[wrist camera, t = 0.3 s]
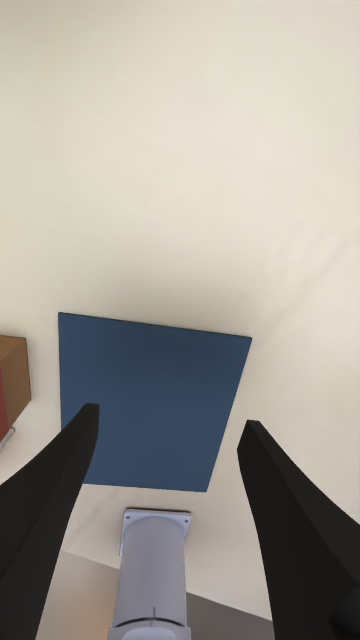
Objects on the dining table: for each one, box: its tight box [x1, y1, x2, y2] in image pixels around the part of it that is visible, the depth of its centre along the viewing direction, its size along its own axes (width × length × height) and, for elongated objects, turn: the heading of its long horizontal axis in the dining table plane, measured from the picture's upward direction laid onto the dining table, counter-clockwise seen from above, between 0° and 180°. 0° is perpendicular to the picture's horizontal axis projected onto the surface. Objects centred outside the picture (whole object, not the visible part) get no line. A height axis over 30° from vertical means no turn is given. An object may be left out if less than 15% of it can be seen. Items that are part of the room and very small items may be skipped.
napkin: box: [58, 313, 252, 492], centre depth 25 cm, size 20×16×1 cm
